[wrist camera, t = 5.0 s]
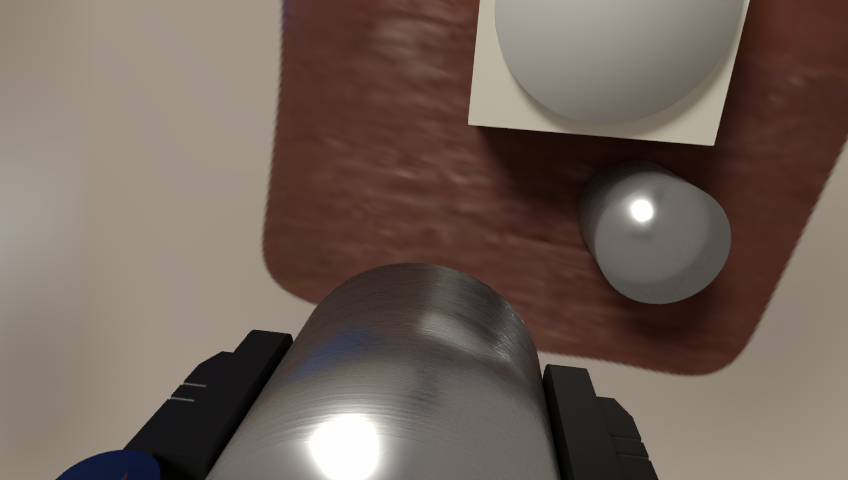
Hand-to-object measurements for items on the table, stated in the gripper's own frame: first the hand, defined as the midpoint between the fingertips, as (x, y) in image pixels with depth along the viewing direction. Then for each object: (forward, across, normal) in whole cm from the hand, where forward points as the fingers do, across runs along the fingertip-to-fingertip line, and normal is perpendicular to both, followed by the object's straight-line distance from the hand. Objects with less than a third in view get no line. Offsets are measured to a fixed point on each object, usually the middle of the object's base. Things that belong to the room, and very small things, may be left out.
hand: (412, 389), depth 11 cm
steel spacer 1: (0, 0, 0) cm, 0 cm away
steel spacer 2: (+17, -8, 0) cm, 19 cm away
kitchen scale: (+17, -5, -8) cm, 19 cm away
